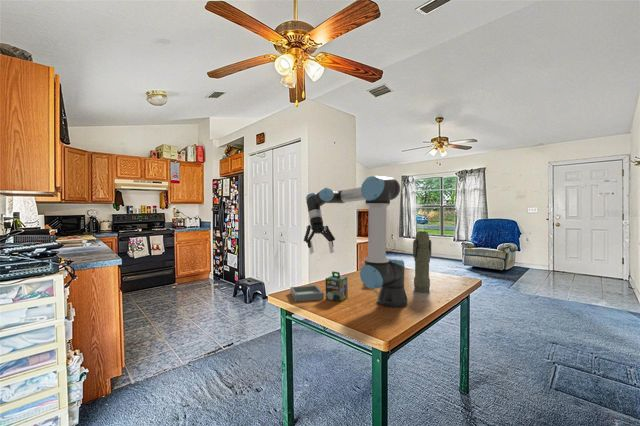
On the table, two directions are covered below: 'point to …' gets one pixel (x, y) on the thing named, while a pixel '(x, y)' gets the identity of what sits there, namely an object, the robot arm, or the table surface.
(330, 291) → the chalk box
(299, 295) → the tray
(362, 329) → the table surface
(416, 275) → the green stone statue
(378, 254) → the robot arm
